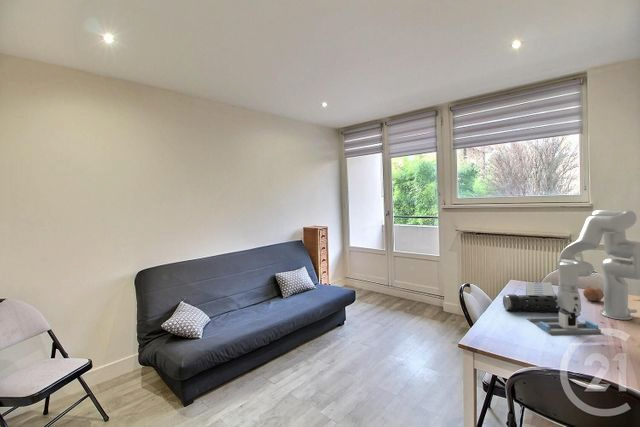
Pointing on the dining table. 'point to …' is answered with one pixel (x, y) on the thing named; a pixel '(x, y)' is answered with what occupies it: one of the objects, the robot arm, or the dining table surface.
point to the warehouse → (539, 289)
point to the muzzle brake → (530, 303)
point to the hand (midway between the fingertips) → (568, 323)
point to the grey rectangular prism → (565, 319)
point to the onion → (593, 294)
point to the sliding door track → (555, 329)
